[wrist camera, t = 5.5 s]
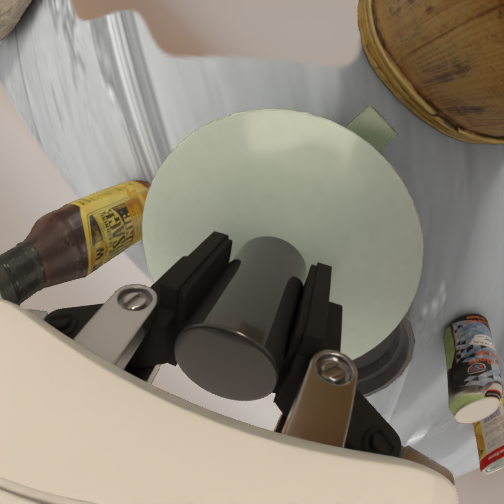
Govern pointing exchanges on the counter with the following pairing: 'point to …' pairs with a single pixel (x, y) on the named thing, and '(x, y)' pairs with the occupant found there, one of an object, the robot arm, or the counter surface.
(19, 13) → the beige rounded lump
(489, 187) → the counter surface
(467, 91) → the tankard
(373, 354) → the pan
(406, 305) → the lid
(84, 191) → the counter surface
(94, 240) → the sauce bottle
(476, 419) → the beverage can
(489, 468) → the canned food
